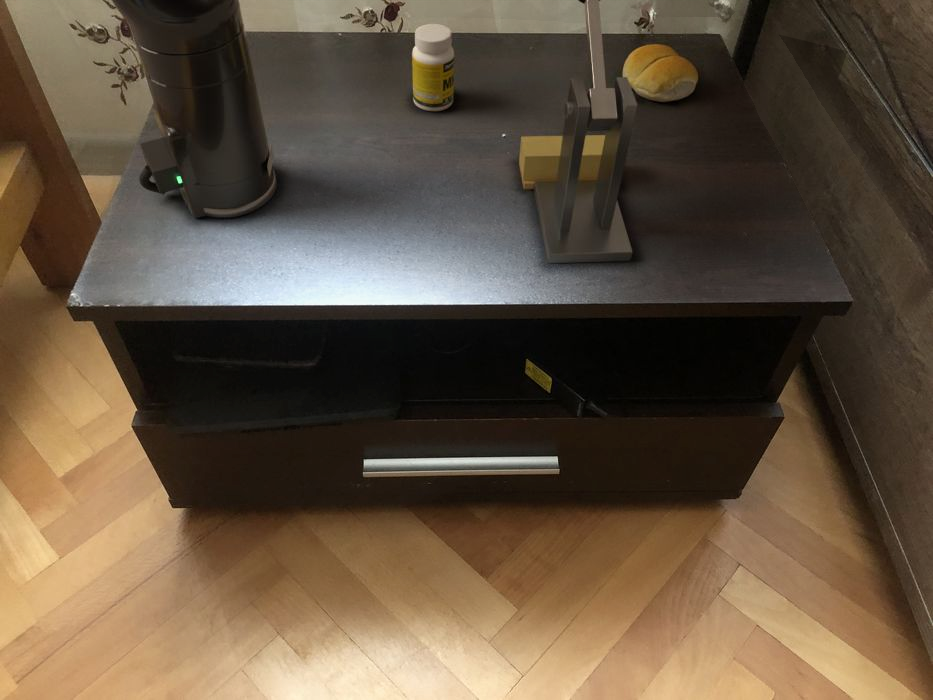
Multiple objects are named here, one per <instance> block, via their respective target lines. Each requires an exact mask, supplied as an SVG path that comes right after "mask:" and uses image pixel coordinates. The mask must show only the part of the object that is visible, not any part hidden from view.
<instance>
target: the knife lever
mask: <svg viewBox="0 0 933 700" xmlns="http://www.w3.org/2000/svg"><path fill="white" fill-rule="evenodd" d="M577 1H578V2H579V3H581V4H583V5H584V14H585V27H586V41H587V53H588V54H587V55H588V65H589V76H590V88H589V90H588V92H587V97H588V100H589V103H590V112H589V118H588V124H587V130H586V132H603V131H605V132H606V131H610V130H611V129H612V127H613V125H614V123H615V121H616V119H617V109H616V97H615V88H614V87H607V82H606V71H605V58H604V57H605V56H604V44H603V34H602V23H601V8H600V1H601V0H577Z"/></svg>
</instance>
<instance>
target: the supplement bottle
mask: <svg viewBox="0 0 933 700" xmlns="http://www.w3.org/2000/svg"><path fill="white" fill-rule="evenodd" d="M452 39H453V38H452V31H451V28H449V27H448V26H446V25H443V24H440V23H427V24H423V25H421V26H419V27H417V28H416V29H415V32H414V47H413V48H412V51H411V58H412V59H411V60H412V61H411V63H412V100H413V103H414V104H415V106H416V107H418V108H419V109H421V110H424V111H427V112H441V111H444V110H446V109H448V108H450V107H451V106H452V105H453V102H454V94H455V93H454V91H455V51H454V48H453V46H452V43H453V40H452Z"/></svg>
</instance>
